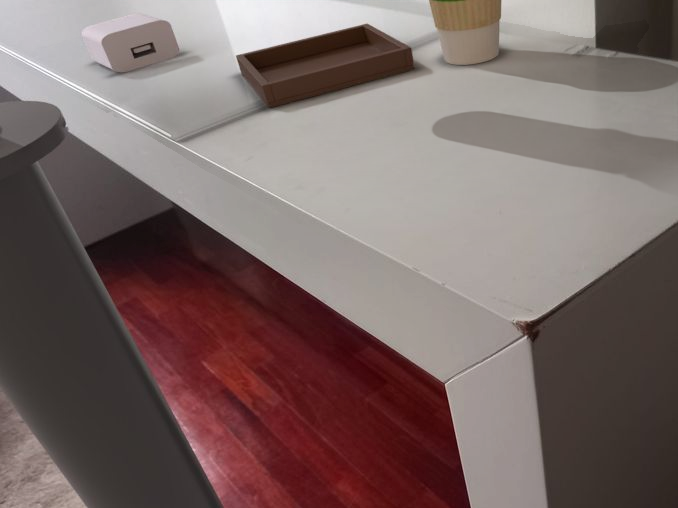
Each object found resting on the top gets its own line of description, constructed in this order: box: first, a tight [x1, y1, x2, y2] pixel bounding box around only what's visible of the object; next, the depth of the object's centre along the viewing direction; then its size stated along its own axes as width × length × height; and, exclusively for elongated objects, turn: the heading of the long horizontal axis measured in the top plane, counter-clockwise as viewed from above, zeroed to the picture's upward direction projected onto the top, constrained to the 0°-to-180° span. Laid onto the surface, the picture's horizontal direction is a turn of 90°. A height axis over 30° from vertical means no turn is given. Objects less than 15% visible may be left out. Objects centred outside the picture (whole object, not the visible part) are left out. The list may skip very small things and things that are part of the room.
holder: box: [235, 23, 416, 109], centre depth 78 cm, size 17×15×2 cm
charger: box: [81, 12, 180, 73], centre depth 95 cm, size 5×9×15 cm
